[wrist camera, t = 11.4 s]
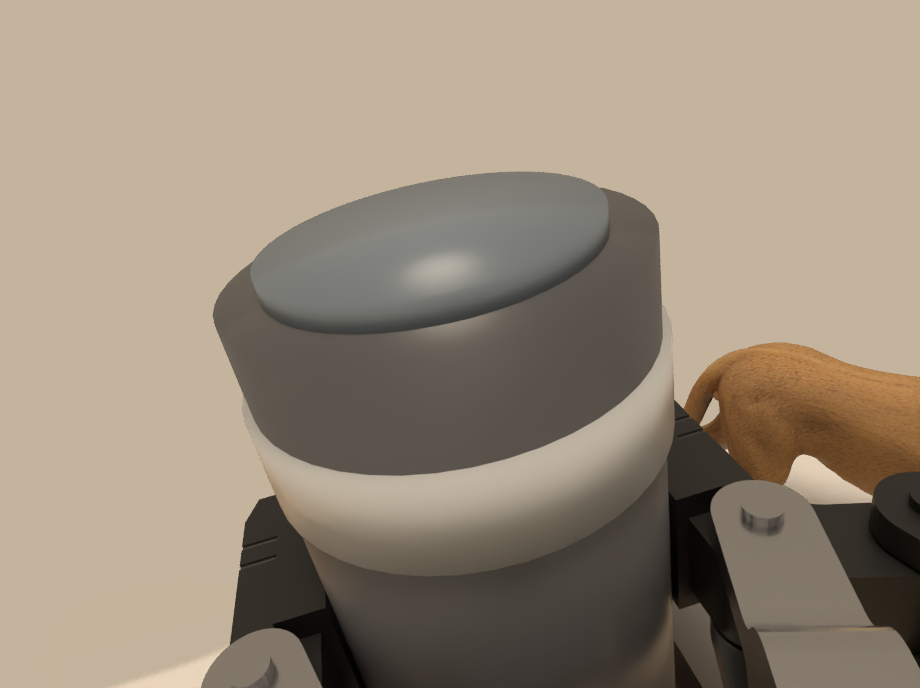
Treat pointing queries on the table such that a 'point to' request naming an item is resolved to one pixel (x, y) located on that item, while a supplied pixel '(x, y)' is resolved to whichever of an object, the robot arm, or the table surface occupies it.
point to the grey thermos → (472, 427)
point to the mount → (694, 649)
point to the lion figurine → (810, 414)
